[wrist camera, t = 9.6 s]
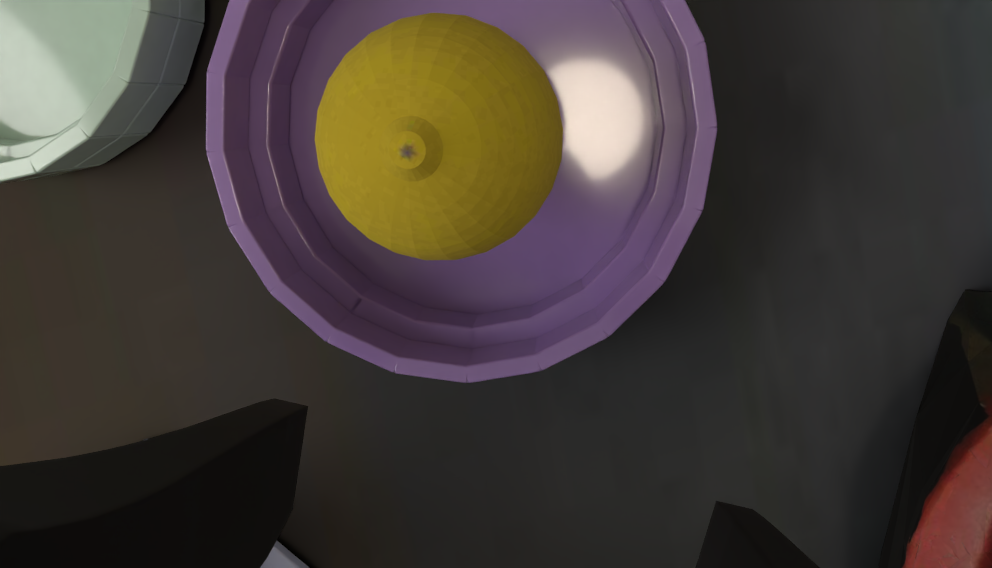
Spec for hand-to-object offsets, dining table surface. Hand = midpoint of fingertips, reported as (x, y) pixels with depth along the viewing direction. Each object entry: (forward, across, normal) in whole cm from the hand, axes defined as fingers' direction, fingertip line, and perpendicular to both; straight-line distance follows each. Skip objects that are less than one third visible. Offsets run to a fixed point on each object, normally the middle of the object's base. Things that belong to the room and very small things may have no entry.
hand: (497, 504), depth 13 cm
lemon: (+10, +3, -5) cm, 12 cm away
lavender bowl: (+10, +3, -5) cm, 12 cm away
